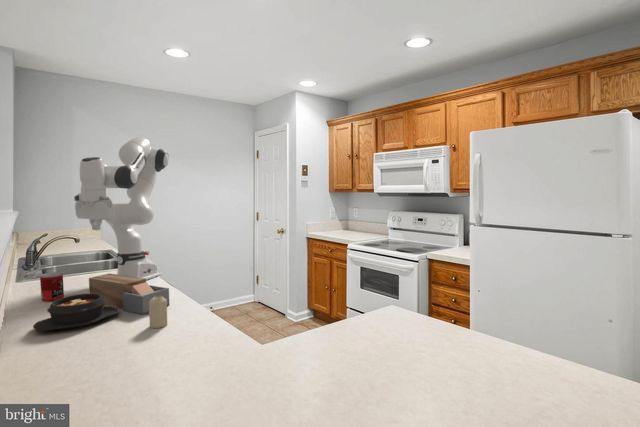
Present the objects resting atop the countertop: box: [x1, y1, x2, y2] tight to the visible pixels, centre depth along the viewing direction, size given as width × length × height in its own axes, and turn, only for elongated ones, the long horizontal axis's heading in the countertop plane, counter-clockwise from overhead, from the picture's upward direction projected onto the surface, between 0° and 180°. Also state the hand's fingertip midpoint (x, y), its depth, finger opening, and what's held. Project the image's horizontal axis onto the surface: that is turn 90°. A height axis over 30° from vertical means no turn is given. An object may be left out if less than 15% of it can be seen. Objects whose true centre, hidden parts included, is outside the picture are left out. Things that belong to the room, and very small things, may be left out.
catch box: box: [123, 284, 170, 316], centre depth 143 cm, size 12×11×7 cm
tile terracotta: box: [130, 281, 154, 295], centre depth 144 cm, size 6×6×2 cm
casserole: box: [32, 293, 119, 332], centre depth 128 cm, size 25×19×8 cm
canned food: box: [39, 271, 65, 303], centre depth 156 cm, size 8×8×11 cm
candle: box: [148, 296, 168, 329], centre depth 125 cm, size 6×6×10 cm
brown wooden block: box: [88, 273, 147, 310], centre depth 151 cm, size 9×23×10 cm, turn 64°
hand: (96, 230), depth 153 cm, fingers closed
